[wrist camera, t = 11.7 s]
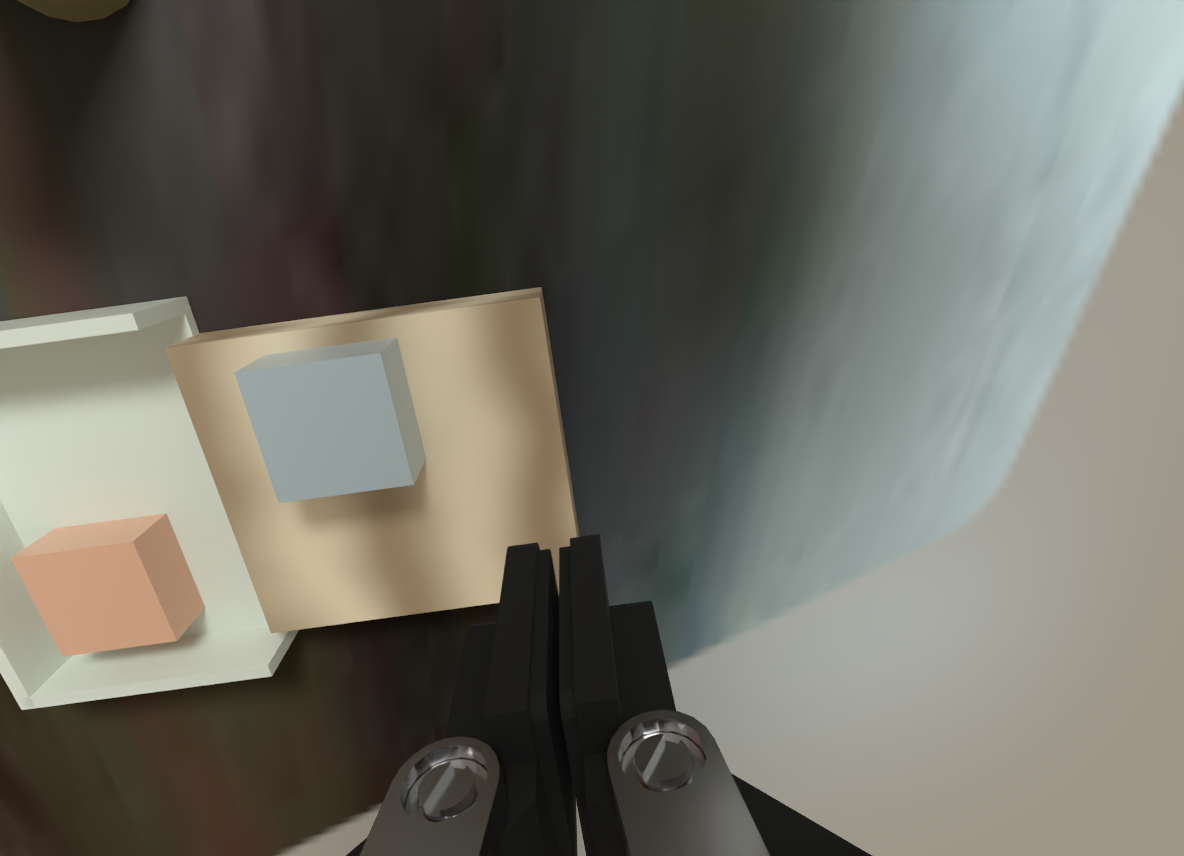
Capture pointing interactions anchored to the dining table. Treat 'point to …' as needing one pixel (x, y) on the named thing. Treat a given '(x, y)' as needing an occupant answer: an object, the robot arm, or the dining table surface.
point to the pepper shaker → (76, 8)
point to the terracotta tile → (111, 584)
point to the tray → (115, 499)
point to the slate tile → (334, 419)
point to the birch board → (445, 482)
